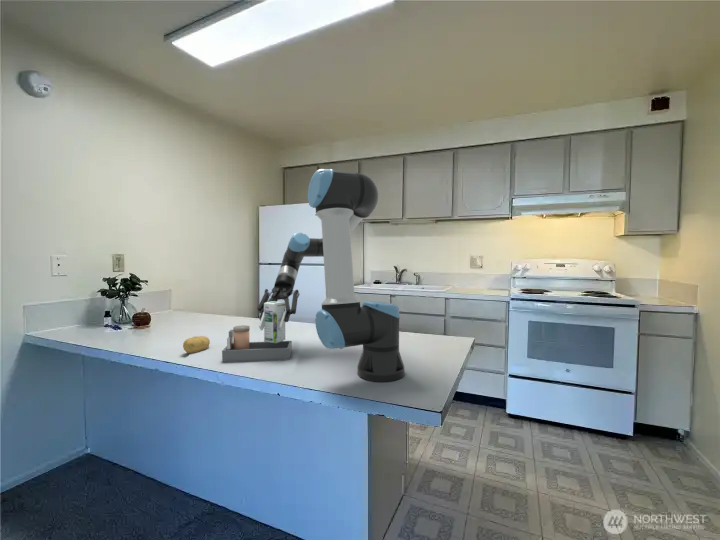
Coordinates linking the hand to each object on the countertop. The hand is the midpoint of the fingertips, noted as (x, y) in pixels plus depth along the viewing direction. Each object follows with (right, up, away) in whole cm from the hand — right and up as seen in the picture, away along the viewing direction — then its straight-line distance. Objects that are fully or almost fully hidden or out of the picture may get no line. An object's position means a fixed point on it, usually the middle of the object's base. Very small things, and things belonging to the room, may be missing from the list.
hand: (271, 328), depth 122 cm
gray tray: (-5, -12, +3) cm, 13 cm away
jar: (-11, -11, +2) cm, 16 cm away
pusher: (-15, -10, +1) cm, 18 cm away
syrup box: (0, -6, +4) cm, 7 cm away
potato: (-32, -12, +11) cm, 36 cm away
